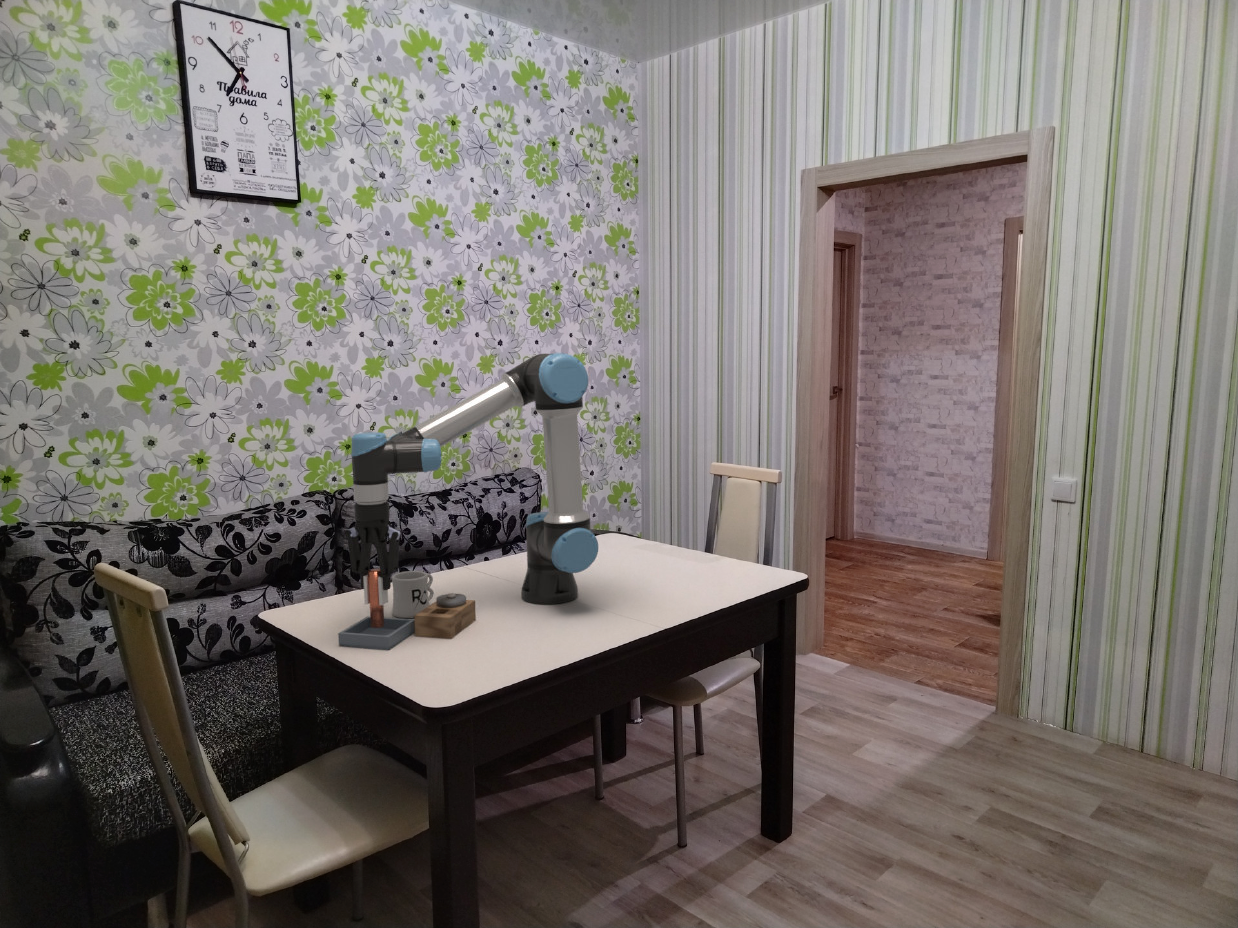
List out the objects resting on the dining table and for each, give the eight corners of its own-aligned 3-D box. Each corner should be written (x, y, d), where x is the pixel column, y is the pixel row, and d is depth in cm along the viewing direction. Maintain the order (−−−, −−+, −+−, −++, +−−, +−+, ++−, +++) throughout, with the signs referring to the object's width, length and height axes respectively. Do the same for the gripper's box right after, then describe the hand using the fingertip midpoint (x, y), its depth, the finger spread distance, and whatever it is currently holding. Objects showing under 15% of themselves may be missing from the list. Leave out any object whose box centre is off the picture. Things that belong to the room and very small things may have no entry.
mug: (410, 621, 202) (409, 581, 201) (384, 615, 207) (383, 576, 206) (446, 608, 213) (445, 570, 211) (421, 603, 217) (419, 566, 216)
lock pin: (386, 624, 191) (384, 569, 189) (380, 628, 188) (377, 572, 186) (375, 623, 191) (372, 568, 190) (368, 627, 188) (365, 571, 187)
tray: (415, 631, 194) (415, 619, 194) (389, 650, 182) (388, 637, 182) (368, 628, 197) (367, 616, 197) (338, 646, 185) (338, 633, 185)
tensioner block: (475, 620, 203) (474, 591, 202) (451, 638, 189) (450, 607, 188) (441, 617, 205) (440, 589, 204) (415, 636, 192) (413, 605, 191)
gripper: (412, 499, 188) (416, 600, 191) (348, 497, 191) (354, 596, 194) (395, 505, 180) (400, 610, 183) (330, 503, 184) (335, 605, 187)
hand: (376, 602), depth 189 cm, fingers closed on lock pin, 3 cm apart
